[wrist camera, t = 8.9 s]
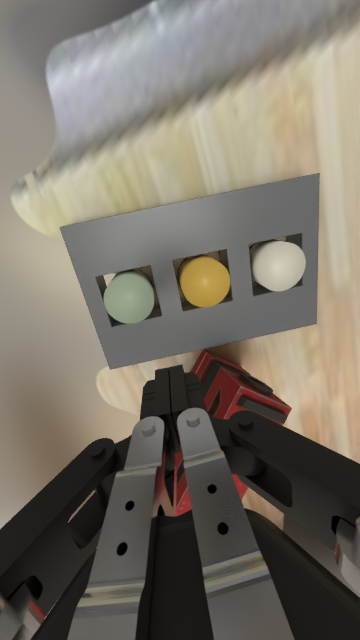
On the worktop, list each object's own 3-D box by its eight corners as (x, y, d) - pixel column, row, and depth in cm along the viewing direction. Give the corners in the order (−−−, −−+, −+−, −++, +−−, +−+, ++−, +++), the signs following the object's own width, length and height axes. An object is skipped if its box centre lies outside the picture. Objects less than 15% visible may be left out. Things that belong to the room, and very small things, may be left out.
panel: (300, 178, 24) (319, 173, 21) (300, 313, 29) (316, 323, 26) (70, 226, 23) (59, 226, 21) (114, 355, 29) (110, 369, 26)
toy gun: (119, 486, 35) (114, 633, 21) (195, 337, 34) (247, 383, 19) (153, 495, 37) (172, 639, 22) (228, 352, 35) (299, 406, 21)
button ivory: (285, 235, 25) (305, 237, 22) (287, 278, 27) (305, 285, 23) (243, 244, 25) (256, 247, 22) (246, 286, 27) (259, 295, 23)
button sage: (148, 264, 25) (147, 271, 21) (158, 306, 26) (159, 317, 23) (104, 273, 25) (97, 281, 21) (117, 314, 26) (112, 328, 23)
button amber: (217, 249, 25) (227, 254, 22) (223, 291, 27) (232, 301, 23) (174, 259, 25) (177, 264, 22) (182, 300, 26) (186, 311, 23)
